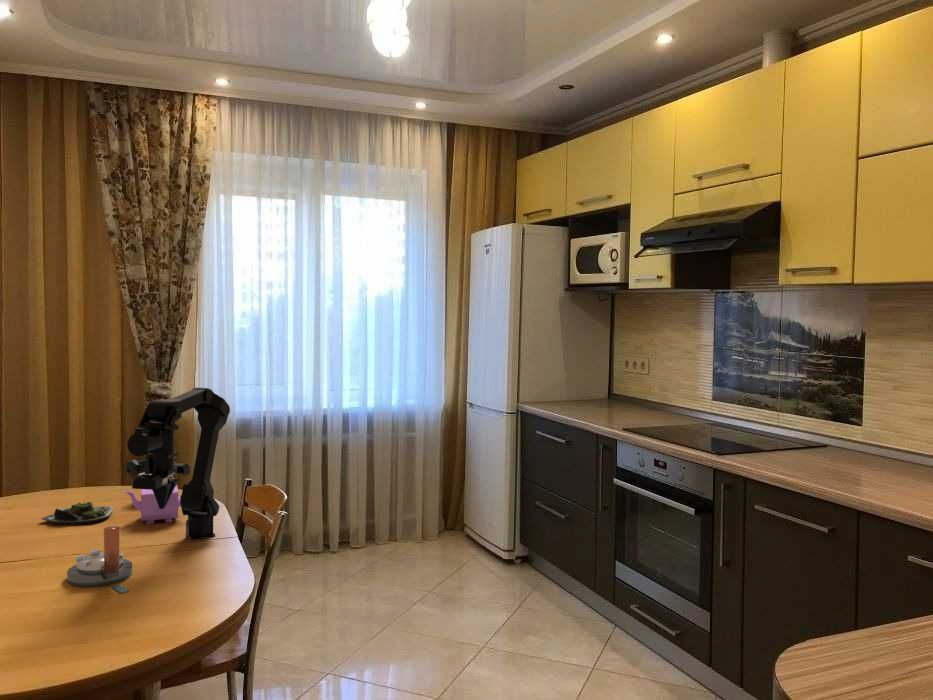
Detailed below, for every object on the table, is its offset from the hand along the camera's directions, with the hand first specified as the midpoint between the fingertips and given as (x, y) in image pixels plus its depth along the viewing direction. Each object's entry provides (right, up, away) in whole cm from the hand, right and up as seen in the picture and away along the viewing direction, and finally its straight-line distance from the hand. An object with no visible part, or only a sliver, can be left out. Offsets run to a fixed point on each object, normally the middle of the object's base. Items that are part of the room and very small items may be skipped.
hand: (162, 508), depth 184 cm
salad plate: (-39, -11, +32) cm, 52 cm away
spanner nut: (-7, -11, -15) cm, 20 cm away
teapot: (-15, -11, +33) cm, 38 cm away
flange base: (-7, -14, -16) cm, 22 cm away
